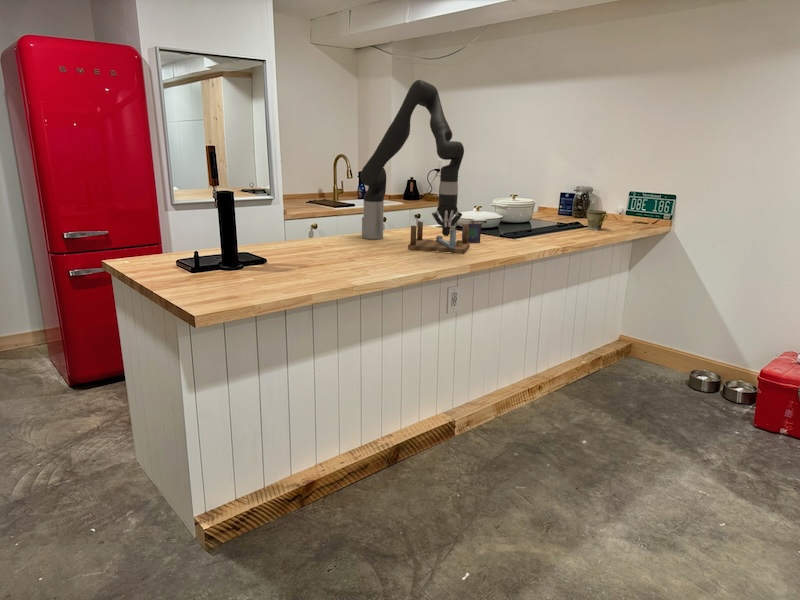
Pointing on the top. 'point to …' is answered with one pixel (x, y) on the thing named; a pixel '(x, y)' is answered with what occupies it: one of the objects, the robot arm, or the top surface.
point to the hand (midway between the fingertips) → (445, 235)
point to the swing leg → (452, 239)
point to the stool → (435, 245)
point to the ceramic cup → (595, 219)
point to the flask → (473, 232)
